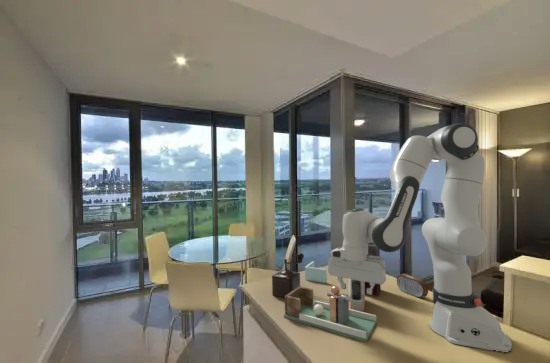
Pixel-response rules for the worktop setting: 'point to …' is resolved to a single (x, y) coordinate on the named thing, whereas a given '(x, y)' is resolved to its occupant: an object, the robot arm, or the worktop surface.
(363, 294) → the cracker box
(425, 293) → the tin
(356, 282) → the black head mallet
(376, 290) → the toy vending machine
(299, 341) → the worktop surface
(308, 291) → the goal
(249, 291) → the worktop surface
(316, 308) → the ball
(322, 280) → the right angle wall
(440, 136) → the robot arm
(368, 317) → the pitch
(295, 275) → the manual coffee grinder
